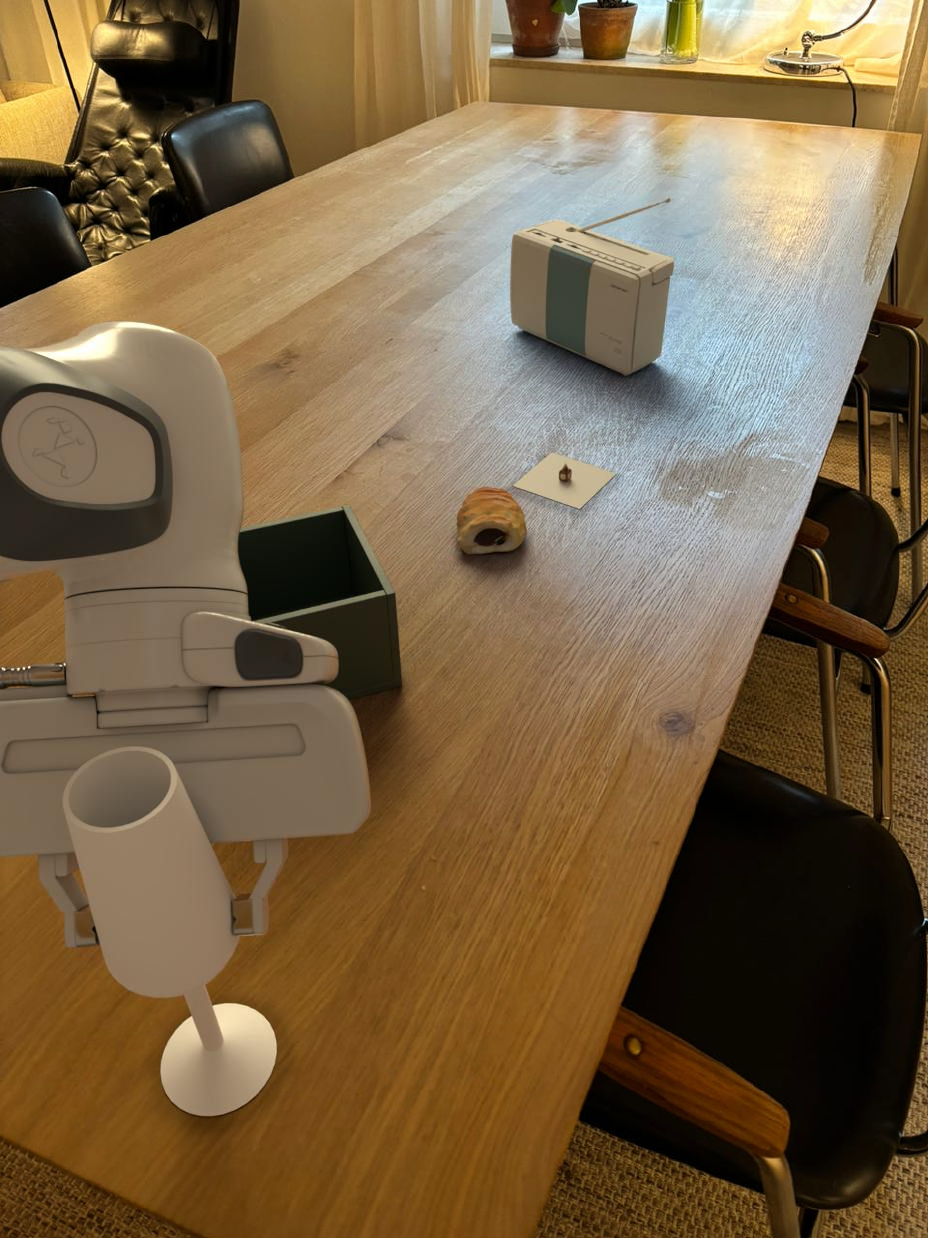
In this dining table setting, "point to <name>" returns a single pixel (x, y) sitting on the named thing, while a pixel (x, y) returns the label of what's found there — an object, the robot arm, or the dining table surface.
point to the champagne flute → (166, 920)
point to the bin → (326, 593)
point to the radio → (590, 292)
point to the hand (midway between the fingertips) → (170, 939)
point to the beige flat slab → (565, 480)
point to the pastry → (490, 522)
